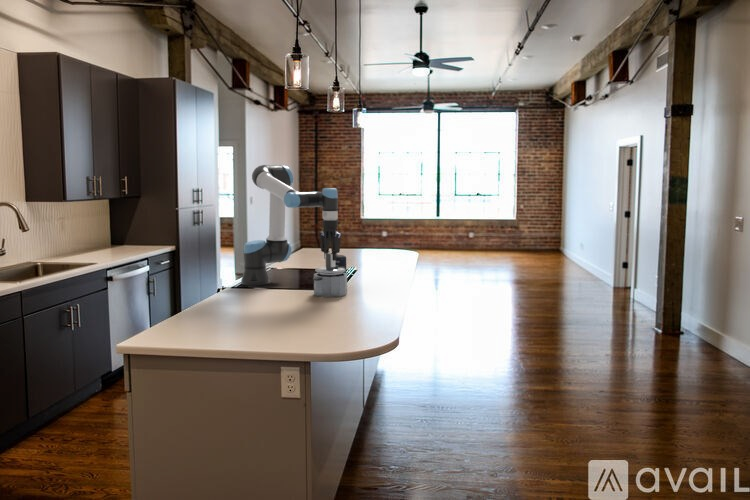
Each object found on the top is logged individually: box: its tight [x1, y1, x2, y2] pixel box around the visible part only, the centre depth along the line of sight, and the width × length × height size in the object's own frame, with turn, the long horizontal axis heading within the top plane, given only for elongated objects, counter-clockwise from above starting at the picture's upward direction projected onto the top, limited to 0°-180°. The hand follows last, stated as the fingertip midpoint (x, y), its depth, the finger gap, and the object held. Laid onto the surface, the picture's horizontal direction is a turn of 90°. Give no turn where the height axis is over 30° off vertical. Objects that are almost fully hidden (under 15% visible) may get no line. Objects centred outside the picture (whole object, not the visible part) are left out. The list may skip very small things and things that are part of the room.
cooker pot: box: [312, 272, 348, 298], centre depth 302 cm, size 16×22×10 cm
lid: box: [314, 252, 345, 277], centre depth 301 cm, size 15×15×11 cm
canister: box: [335, 253, 348, 274], centre depth 320 cm, size 10×10×18 cm
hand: (330, 266), depth 301 cm, fingers closed on lid, 3 cm apart
